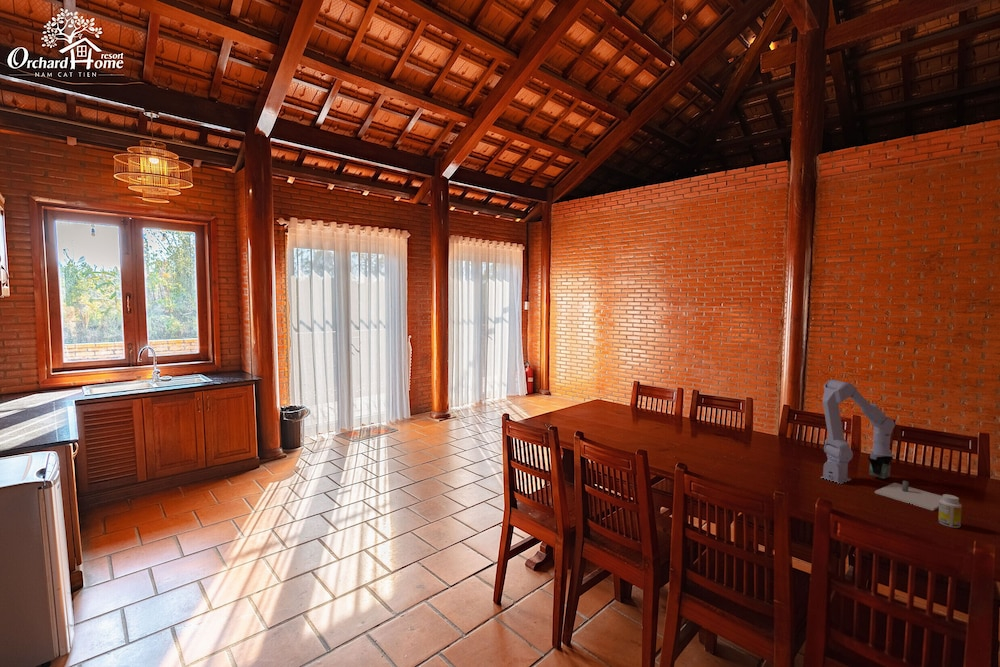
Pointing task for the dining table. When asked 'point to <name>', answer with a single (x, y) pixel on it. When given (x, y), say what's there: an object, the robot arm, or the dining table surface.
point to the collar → (884, 471)
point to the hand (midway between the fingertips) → (879, 472)
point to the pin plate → (911, 495)
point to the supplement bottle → (950, 511)
